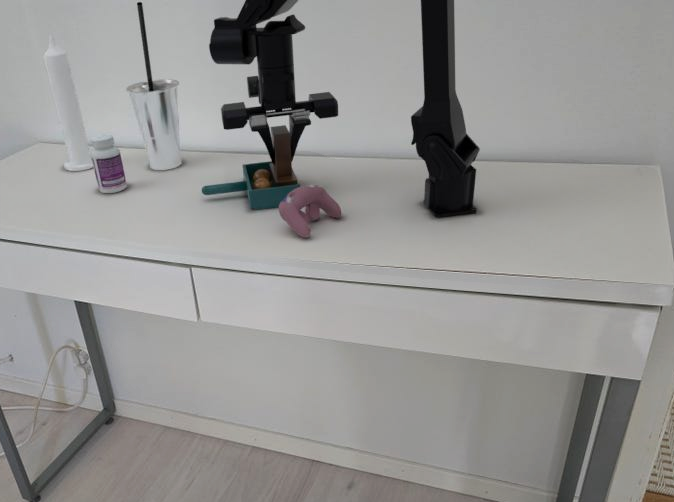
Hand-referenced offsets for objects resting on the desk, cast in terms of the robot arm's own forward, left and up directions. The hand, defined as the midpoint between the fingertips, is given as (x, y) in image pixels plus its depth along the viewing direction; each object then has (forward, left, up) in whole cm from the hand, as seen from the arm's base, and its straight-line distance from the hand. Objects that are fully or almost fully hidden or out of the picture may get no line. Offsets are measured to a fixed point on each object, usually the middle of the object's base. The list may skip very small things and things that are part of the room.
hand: (282, 162), depth 114 cm
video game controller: (-2, +16, -5) cm, 17 cm away
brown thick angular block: (0, 0, -4) cm, 4 cm away
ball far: (+4, -2, -3) cm, 5 cm away
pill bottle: (+31, -12, -5) cm, 34 cm away
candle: (+39, -29, -5) cm, 49 cm away
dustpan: (+6, 0, -5) cm, 8 cm away
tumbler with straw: (+21, -22, -5) cm, 31 cm away
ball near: (+4, +2, -3) cm, 6 cm away
